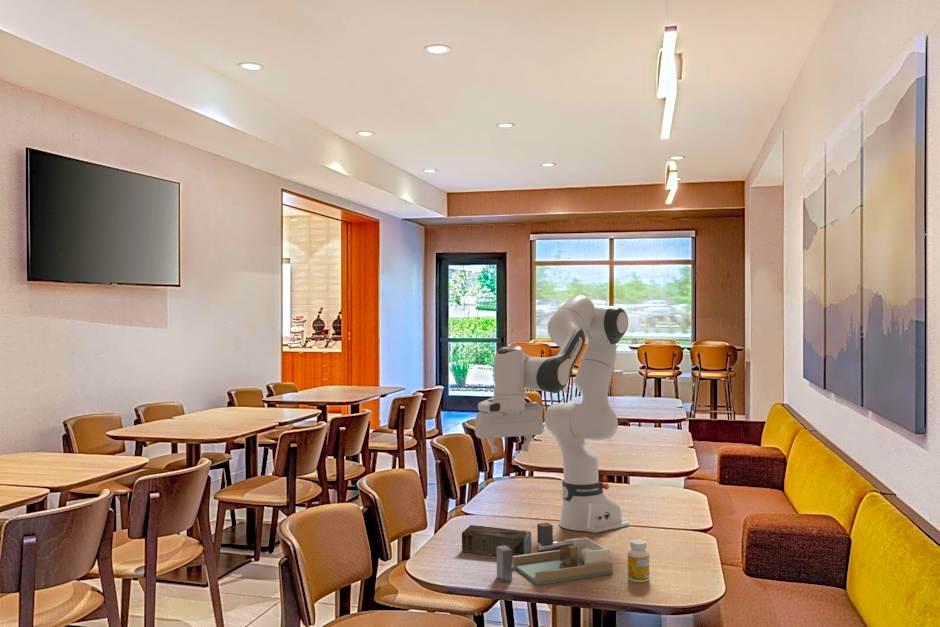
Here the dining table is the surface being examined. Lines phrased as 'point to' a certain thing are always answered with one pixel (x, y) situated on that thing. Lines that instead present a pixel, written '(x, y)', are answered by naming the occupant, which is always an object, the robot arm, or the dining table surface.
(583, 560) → the ball
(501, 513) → the dining table surface
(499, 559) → the grey tall block
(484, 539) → the olive storage box
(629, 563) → the supplement bottle
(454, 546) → the dining table surface
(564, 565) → the foosball board
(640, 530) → the dining table surface
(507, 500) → the dining table surface
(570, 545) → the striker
